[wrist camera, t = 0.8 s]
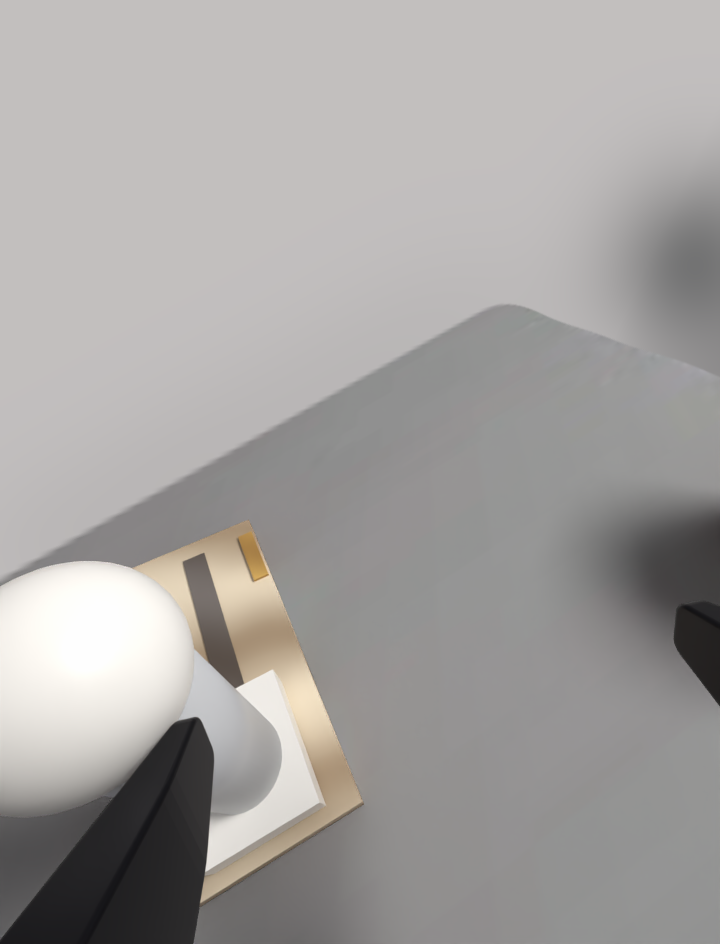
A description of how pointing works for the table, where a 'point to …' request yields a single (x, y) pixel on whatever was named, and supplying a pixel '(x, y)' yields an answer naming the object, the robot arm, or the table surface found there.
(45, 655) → the lever
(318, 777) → the fader track
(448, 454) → the table surface
